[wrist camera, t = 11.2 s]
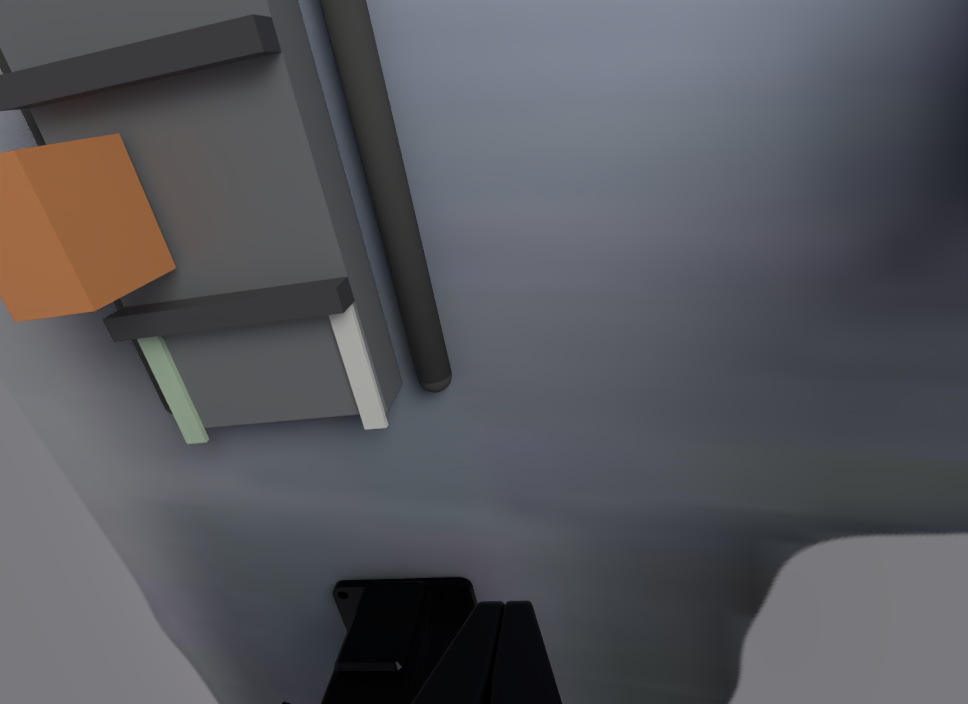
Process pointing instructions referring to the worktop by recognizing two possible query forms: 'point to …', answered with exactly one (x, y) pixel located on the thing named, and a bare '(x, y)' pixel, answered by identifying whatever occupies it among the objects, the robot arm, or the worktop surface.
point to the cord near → (388, 185)
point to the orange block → (74, 229)
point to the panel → (220, 200)
